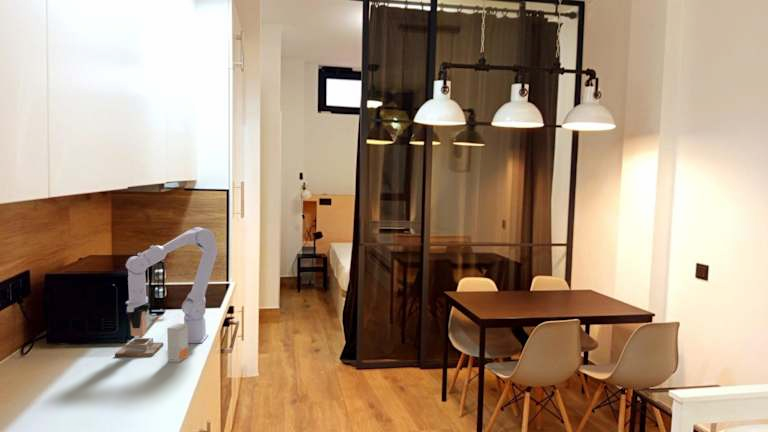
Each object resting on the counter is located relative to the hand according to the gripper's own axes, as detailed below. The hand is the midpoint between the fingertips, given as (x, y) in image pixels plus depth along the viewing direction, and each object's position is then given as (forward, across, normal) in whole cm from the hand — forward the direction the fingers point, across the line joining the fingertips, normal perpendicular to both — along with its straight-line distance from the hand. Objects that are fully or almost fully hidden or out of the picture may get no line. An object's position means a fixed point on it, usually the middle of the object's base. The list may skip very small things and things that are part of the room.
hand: (138, 326), depth 187 cm
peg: (+3, 0, 0) cm, 3 cm away
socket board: (+10, 0, 0) cm, 10 cm away
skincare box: (+10, +9, +16) cm, 21 cm away
